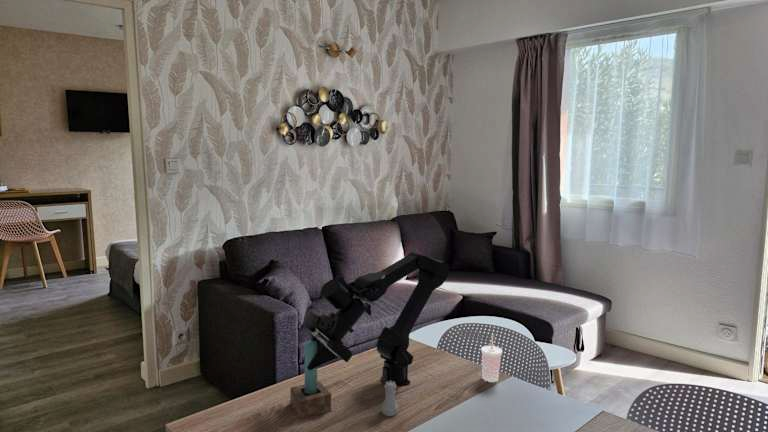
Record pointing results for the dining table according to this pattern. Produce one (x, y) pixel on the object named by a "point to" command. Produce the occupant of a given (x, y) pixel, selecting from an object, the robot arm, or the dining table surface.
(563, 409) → the dining table surface
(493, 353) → the beverage cup
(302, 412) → the walnut hole block
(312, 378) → the teal pin
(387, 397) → the rook chess piece
